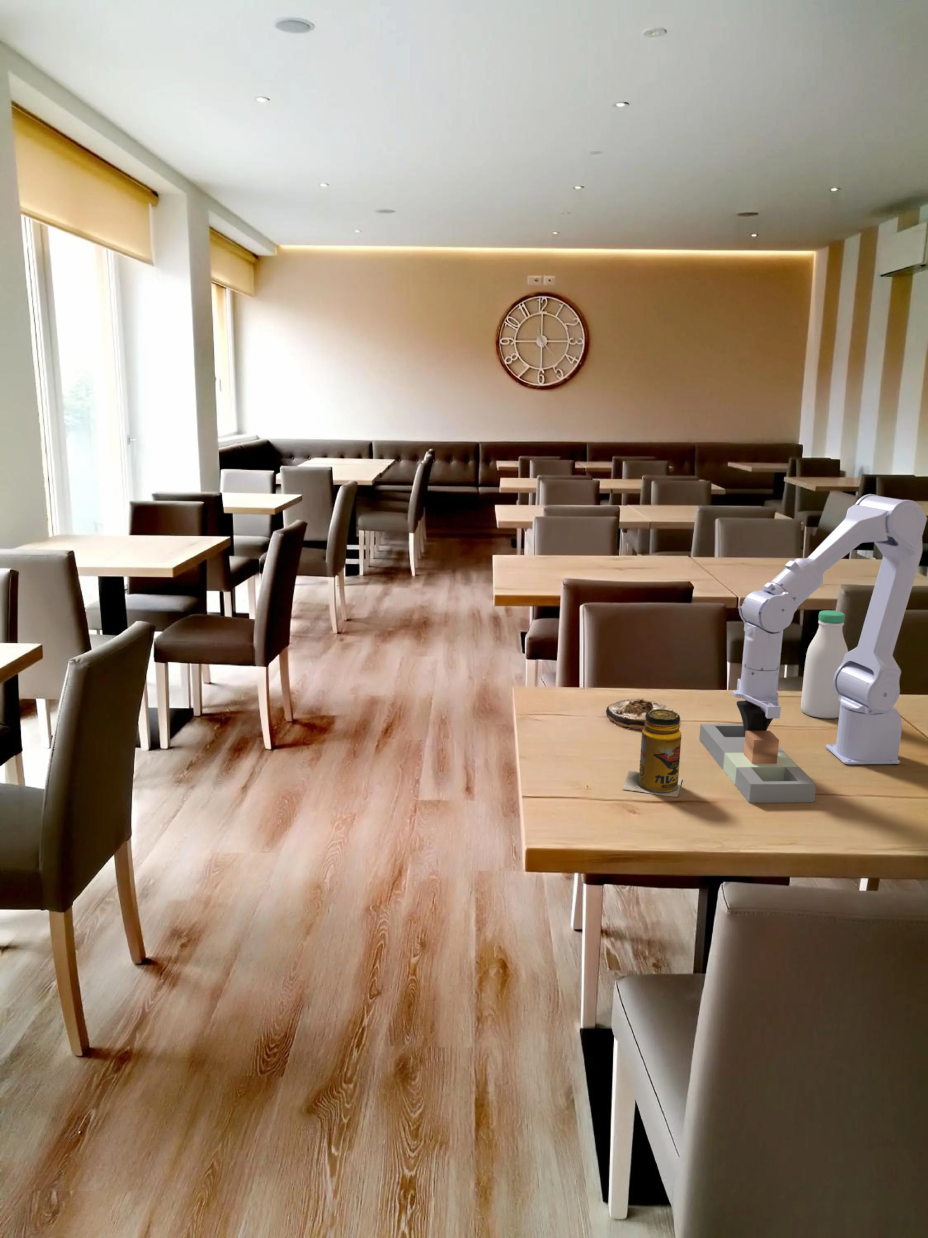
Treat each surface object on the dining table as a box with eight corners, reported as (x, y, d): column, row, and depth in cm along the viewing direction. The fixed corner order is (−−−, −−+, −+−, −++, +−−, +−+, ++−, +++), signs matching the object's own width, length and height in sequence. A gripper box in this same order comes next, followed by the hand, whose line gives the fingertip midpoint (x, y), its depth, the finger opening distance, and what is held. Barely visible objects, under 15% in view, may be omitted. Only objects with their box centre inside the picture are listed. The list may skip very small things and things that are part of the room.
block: (767, 753, 152) (769, 730, 151) (776, 763, 148) (779, 739, 147) (743, 754, 152) (745, 730, 151) (751, 763, 148) (754, 740, 147)
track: (754, 739, 167) (756, 723, 166) (814, 802, 142) (816, 783, 141) (699, 740, 166) (700, 724, 166) (749, 802, 141) (750, 784, 140)
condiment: (677, 798, 143) (683, 723, 140) (622, 790, 145) (626, 717, 142) (681, 779, 150) (687, 708, 147) (628, 772, 152) (632, 702, 149)
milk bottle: (848, 720, 177) (860, 617, 173) (808, 719, 178) (818, 616, 173) (833, 706, 185) (844, 608, 180) (794, 706, 185) (804, 607, 180)
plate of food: (628, 740, 167) (629, 718, 166) (586, 714, 181) (586, 693, 180) (696, 729, 173) (698, 708, 172) (650, 704, 186) (651, 684, 185)
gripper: (722, 653, 157) (715, 729, 160) (751, 679, 143) (744, 762, 146) (763, 653, 157) (756, 729, 160) (797, 679, 143) (788, 762, 146)
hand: (753, 745), depth 153 cm, fingers closed
